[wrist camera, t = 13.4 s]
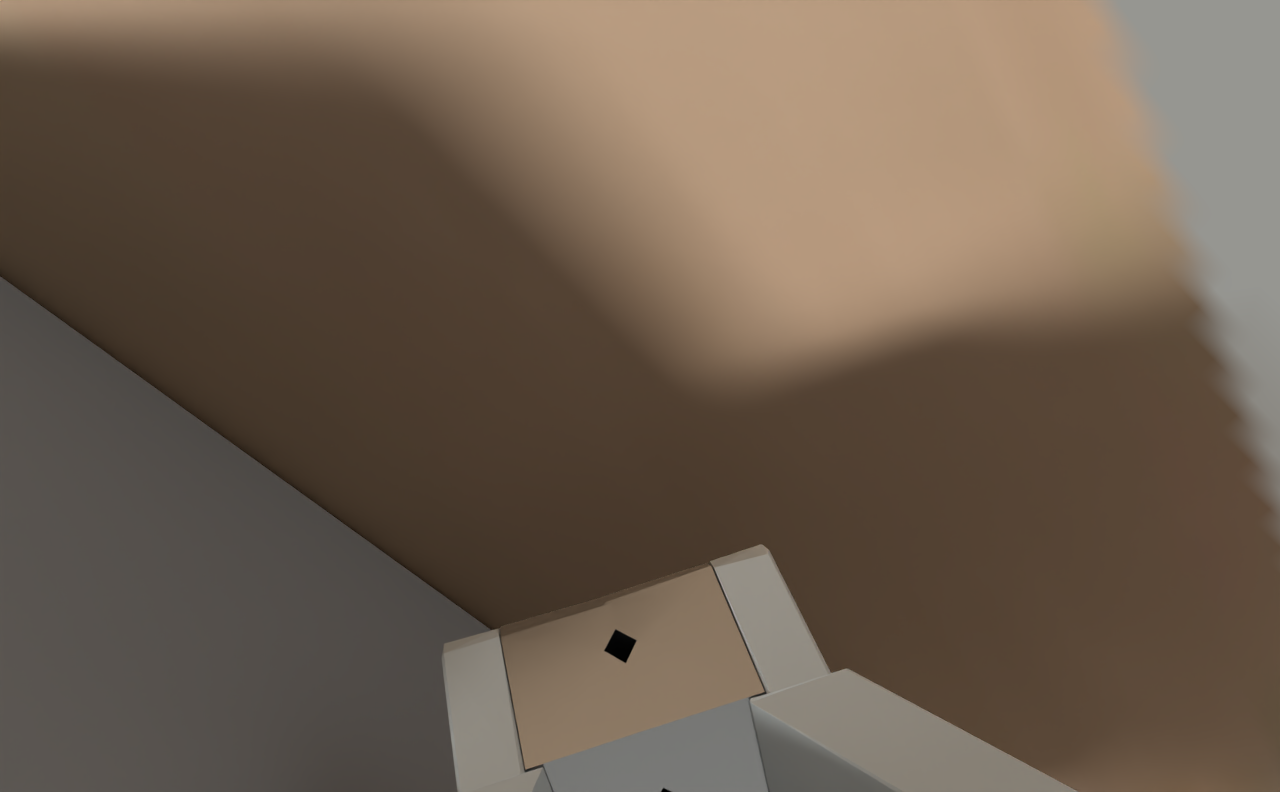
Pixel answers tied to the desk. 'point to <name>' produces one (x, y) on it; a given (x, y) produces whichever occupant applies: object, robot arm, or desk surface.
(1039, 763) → the desk surface
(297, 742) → the tray
